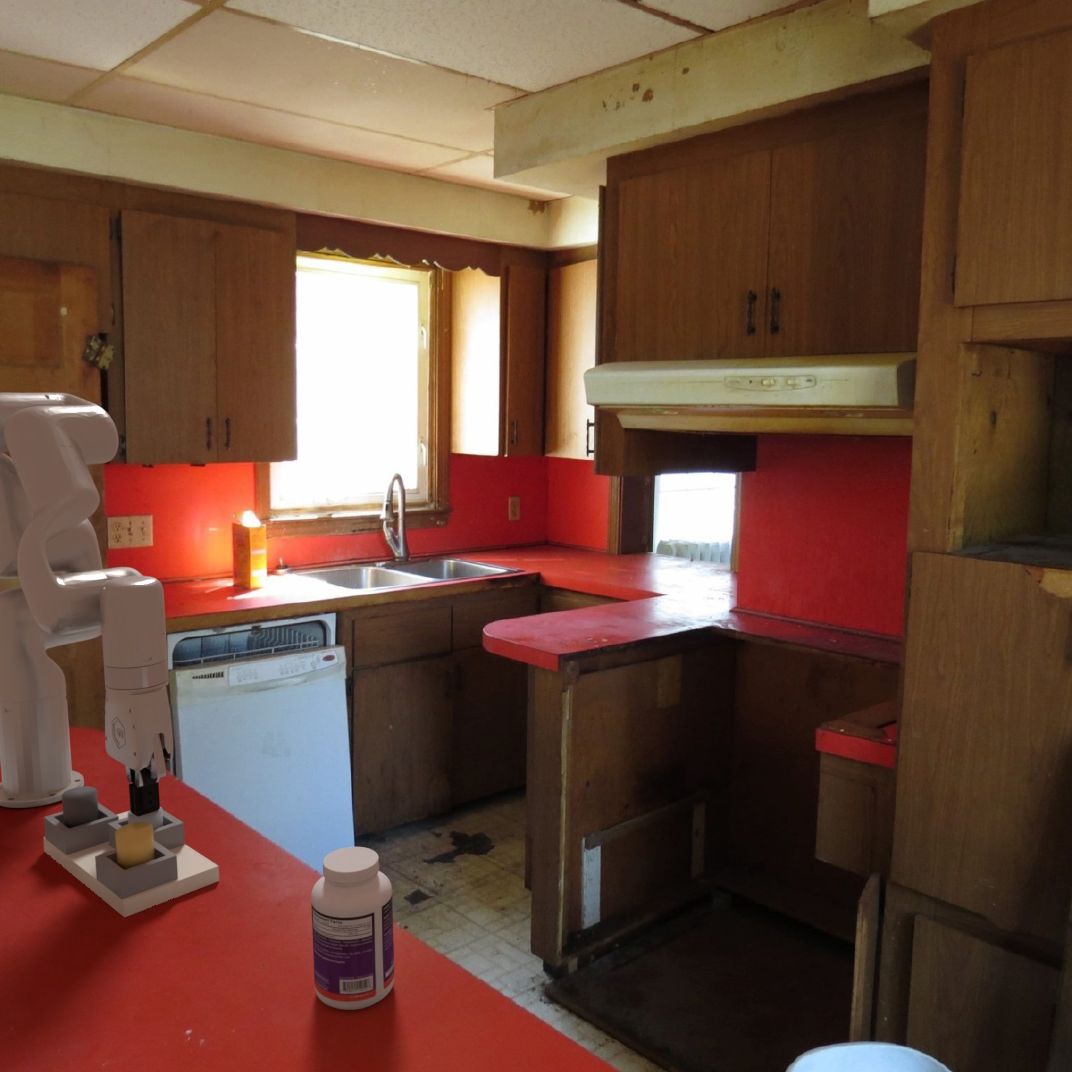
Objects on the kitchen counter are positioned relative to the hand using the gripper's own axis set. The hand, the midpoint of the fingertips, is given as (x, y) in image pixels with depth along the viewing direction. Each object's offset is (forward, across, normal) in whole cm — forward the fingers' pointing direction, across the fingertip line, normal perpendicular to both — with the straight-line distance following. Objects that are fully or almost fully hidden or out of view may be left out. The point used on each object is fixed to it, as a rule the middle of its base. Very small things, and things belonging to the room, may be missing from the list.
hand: (145, 811), depth 130 cm
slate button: (+4, 0, 0) cm, 4 cm away
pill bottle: (+7, +43, +2) cm, 43 cm away
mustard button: (+2, +8, -5) cm, 10 cm away
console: (+7, 0, -2) cm, 7 cm away
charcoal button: (+2, -8, -5) cm, 10 cm away
